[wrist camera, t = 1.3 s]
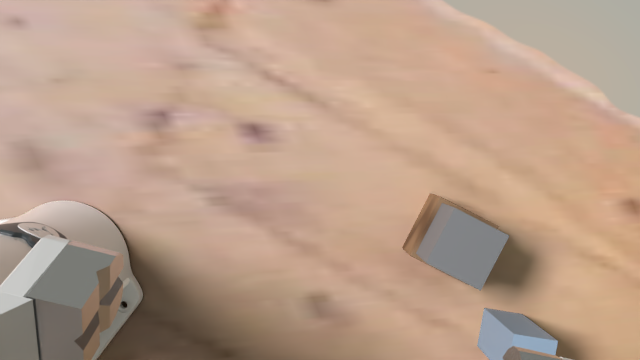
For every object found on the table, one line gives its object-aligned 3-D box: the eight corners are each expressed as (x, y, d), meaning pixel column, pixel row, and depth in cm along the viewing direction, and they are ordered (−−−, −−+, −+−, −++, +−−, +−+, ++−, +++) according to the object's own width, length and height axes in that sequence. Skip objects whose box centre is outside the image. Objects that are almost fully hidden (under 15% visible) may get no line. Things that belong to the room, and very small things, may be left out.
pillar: (515, 351, 63) (549, 384, 54) (477, 345, 63) (505, 377, 54) (522, 314, 62) (557, 341, 53) (484, 307, 62) (513, 333, 53)
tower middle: (465, 278, 57) (480, 290, 52) (415, 253, 57) (426, 262, 52) (491, 228, 57) (509, 235, 52) (442, 202, 57) (454, 207, 52)
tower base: (455, 274, 62) (468, 284, 57) (402, 247, 62) (410, 255, 57) (483, 220, 62) (498, 226, 57) (429, 193, 62) (440, 196, 57)
